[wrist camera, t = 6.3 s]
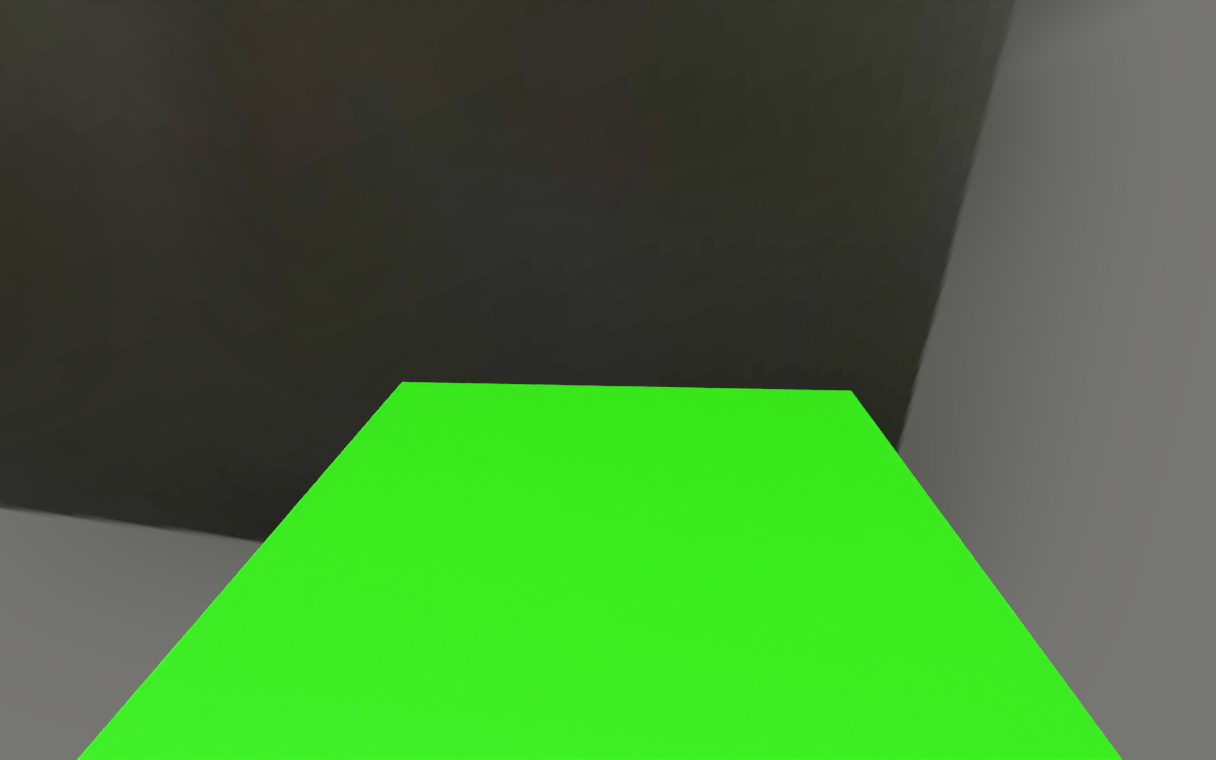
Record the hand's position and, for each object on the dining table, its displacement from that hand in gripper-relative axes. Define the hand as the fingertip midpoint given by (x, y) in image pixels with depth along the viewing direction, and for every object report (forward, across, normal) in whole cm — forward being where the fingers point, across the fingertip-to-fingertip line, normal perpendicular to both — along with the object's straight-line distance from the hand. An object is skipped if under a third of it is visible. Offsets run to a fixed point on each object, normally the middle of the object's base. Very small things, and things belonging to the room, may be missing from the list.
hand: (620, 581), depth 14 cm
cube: (0, 0, 0) cm, 0 cm away
